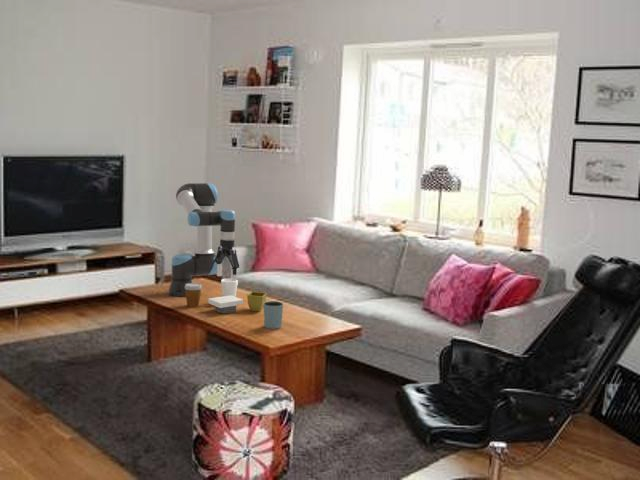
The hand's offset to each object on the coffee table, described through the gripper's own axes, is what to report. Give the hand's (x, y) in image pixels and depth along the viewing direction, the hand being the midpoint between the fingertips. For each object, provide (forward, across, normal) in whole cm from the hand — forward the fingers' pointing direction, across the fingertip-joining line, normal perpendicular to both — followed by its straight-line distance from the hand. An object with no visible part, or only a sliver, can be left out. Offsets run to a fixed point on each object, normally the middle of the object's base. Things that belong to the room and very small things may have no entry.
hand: (226, 278), depth 390 cm
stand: (+18, 0, 0) cm, 18 cm away
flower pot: (+18, +7, +16) cm, 25 cm away
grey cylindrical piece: (+18, +37, +4) cm, 42 cm away
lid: (+14, 0, 0) cm, 14 cm away
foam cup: (+18, -14, +12) cm, 26 cm away
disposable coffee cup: (+18, -18, -9) cm, 27 cm away
